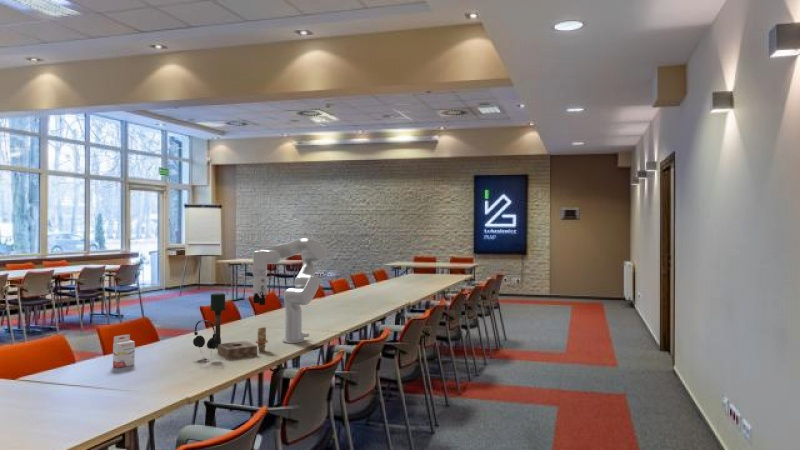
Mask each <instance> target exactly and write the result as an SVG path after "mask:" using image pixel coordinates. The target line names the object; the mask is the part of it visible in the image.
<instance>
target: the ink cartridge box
mask: <svg viewBox="0 0 800 450" xmlns="http://www.w3.org/2000/svg"><path fill="white" fill-rule="evenodd" d="M130 336H131V334H121V335H115V336H113V344H112V367H114V368H116V369H119V368H126V367H129V366H134V365H135V351H136V348H135V347H136V343H135V342H136V341H134V340H131V337H130Z"/></svg>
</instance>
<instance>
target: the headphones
mask: <svg viewBox="0 0 800 450" xmlns="http://www.w3.org/2000/svg"><path fill="white" fill-rule="evenodd" d="M201 322H206V323H208V324H209V325H210V326H211V328H212V330H213V333H212V337H210V338H209V339H208V340H207V343H206V339H205V337H204V336H203V335H199V332H198V325H199V323H201ZM215 333H216V330H215V326H214V324H213V323H212V322H211V321H210V320H209V319H208V320H207V319H203V320H198V321H197V322H196V324H195V326H194V333H193V335H194V336H196V337H194V338H193V340H192V343H193V346H194V347H197V348H202V347H204V346H205V345H206V348H207V349H209V350H210V351H211V353H210V355H212V353H213V352H212V351H213V350H215V349H218V348H217V346H218V344H219V341H218V340H217V339H216V338H215V337H216V334H215ZM200 352H202V351H201V349H200ZM206 361H208V358H205V357H203V361H201V359H200V360H198V363H200V362H201V363H203V364H205V363H206Z"/></svg>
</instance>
